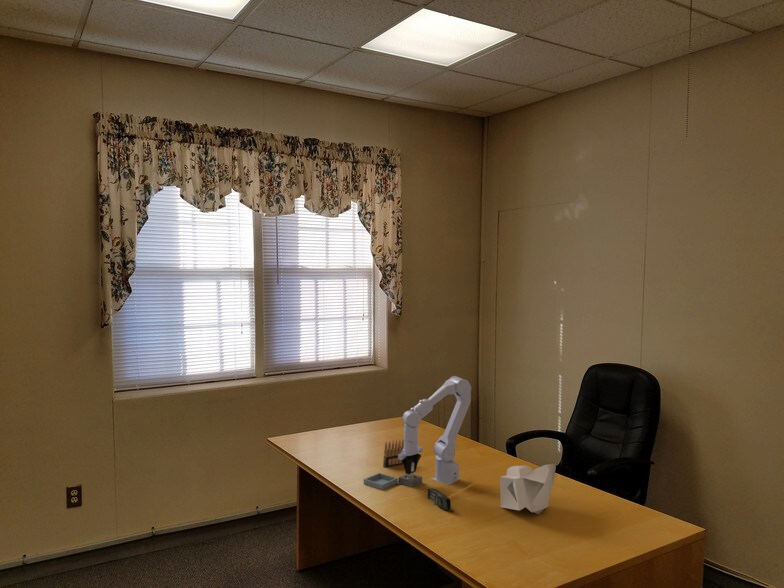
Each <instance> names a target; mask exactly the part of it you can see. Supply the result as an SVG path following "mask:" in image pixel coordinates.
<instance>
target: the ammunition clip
mask: <svg viewBox="0 0 784 588" xmlns="http://www.w3.org/2000/svg"><path fill="white" fill-rule="evenodd" d="M402 449H404V438H402V439H399V440H397V439H395V441H394V440H392V442H391V440H389V441H388V442H387V441H385V443H384V451H383V455H384V456H383V464H382V465H383V466H382V467H384V469H385V468H391V467H397V466H401V465H403V463H402V461H401V460H399V459H398V454H400V453H401V452H402Z"/></svg>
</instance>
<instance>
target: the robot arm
mask: <svg viewBox="0 0 784 588" xmlns="http://www.w3.org/2000/svg"><path fill="white" fill-rule="evenodd" d="M471 391H472V386H471V383H470V382H469V381H468V379H465V378H461V377H459V376H457V375H453V376H451V377H450V378H449V379H447V380H445V382H444V383H443V384H442V385H441V387H439V388H438V389H437V390H436V391H435V392H434V393H432V395H431V396H430V397H428V398H423V399H419V401H418V402H417V404H416V405H414V406H413V407H411V408H410V410H406V411H405V412H404V413H403V415H402V417H401V420H402V422H403V439H404V449H402V452H401V453H400V454H398V459H399V460H401V461H402V463H403V464H402V465H403V468H404V471H405V474H411V466H412V462H414V473H416V471H417V467H418V464H419V462H420V460H421V457H422V454H420V453H423V452H424V447H423V446H419V445H418V444H419V442H418V441H419V440H418V438H419V433H418V432H419V431H418V429H419V428H418V426H419V425H420V423H421V420H422V419H423V418H425V417H426V416H427V415H428V414H429V413H430V412H431V411H433V409H434V406H435V405H436V404H437V403H438V402H440V401H441V400H442V399H444V398H445V397H446V396H448V395H454V396H455V399H456V402H455V405H454V408H453V410H452V412H451V416H450V418H449V420H448V422H447V425H446V428H445V430H444V432H443V434H442V435H441V436H439V438H438V440H437V441H436V442H435V443H434V445H433V448H432V449H433V452H434V454H435V476H434V477H432V478H431V480H432V481H436V482H438V483H442V484H446V485H451V484H454V483H456V482H458V481H459V480H460V477H459V475H460V472H459V471H460V469H459V468H460V467H459V463H458V462H457V461H455V460H454V458H455V456H456V450H457V449H456V448H457V442H456V440H457V436H458V434H459V431H460V429H461V427H462V424H463V421H464V420H465V416H466V415H467V412H468V410H469V407H470V404H471V401H472V397H471V395H472V393H471Z"/></svg>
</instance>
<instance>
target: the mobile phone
mask: <svg viewBox="0 0 784 588" xmlns="http://www.w3.org/2000/svg"><path fill="white" fill-rule="evenodd" d="M427 500H430V501H431V502H432V503H434V505H435V506H437V507H438V508H439V509H441V510H443V509H444V511H450V513H454V510H453V509H451V507H452V505H451V502H452V501H451V499H450V498H449V497H448V496H447V495H446V494H445V493H442V492H441V491H439V490H438V489H436V488H433V487H429V488H428V489H427Z"/></svg>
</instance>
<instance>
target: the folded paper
mask: <svg viewBox="0 0 784 588" xmlns="http://www.w3.org/2000/svg"><path fill="white" fill-rule="evenodd" d="M556 467H557V464H556V463H548V464H544V465H541V466H539V467H537V468H534V469H533V468H531V467H530V466H529V465H513V466H510V467H508V468H507V470H506V475H502V476H500V477H499V483H500V485H499V486H500V490H499V491H500V495H499V496H500V508H503V509H509V510H515V511H521V510H523V509H524V508H526V509H527V511H530V512H531V513H534V514H536V515H537V516H538V515H540V514H541V513H542V512H543V511H544V510H545V509H547V508H549V500H550V496H551V494H552V493H551V492H552V489H553V486H554V480H555V477H556V476H555V473H556Z"/></svg>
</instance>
